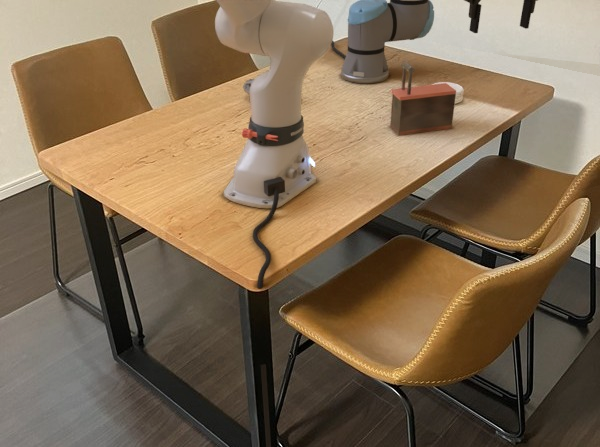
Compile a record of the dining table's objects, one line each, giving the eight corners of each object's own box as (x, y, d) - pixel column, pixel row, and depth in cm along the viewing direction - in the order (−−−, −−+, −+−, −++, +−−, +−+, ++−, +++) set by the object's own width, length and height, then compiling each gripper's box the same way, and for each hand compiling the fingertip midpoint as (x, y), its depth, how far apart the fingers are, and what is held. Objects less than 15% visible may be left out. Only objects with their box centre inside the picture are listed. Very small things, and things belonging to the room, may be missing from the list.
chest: (398, 135, 162) (401, 100, 157) (390, 126, 167) (392, 92, 161) (451, 128, 165) (455, 94, 160) (441, 119, 170) (445, 86, 165)
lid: (399, 100, 157) (402, 69, 152) (391, 92, 161) (393, 61, 157) (455, 93, 160) (459, 63, 156) (445, 86, 165) (448, 56, 160)
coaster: (424, 93, 186) (425, 82, 184) (456, 91, 187) (457, 80, 185) (433, 106, 178) (434, 94, 176) (467, 104, 179) (468, 92, 177)
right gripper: (471, -61, 134) (459, 37, 145) (572, -67, 139) (553, 29, 150) (455, -66, 140) (444, 29, 151) (552, -71, 145) (535, 21, 156)
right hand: (498, 29), depth 151 cm, fingers open, 13 cm apart
